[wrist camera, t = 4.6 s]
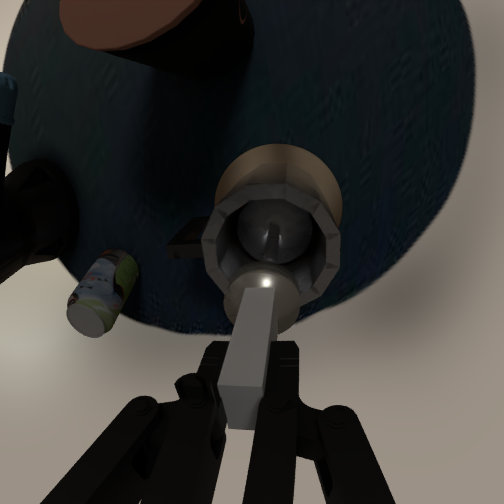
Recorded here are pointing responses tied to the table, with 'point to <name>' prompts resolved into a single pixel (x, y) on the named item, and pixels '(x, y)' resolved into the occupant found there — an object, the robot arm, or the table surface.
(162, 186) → the table surface
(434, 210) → the table surface
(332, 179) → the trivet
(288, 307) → the plunger
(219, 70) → the coffee jar
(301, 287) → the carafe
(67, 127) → the table surface
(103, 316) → the beverage can
